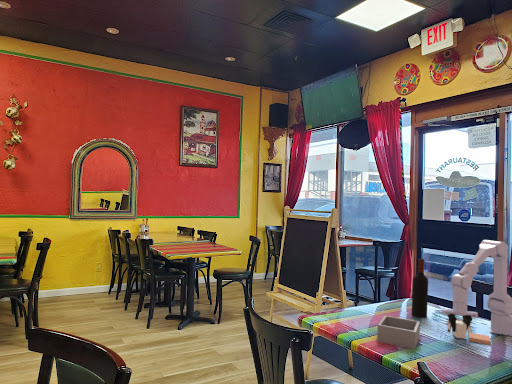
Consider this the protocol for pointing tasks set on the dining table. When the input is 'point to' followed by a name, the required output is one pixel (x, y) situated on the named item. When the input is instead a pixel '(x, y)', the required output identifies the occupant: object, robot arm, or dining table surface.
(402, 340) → the box
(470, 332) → the frame
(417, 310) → the wine bottle
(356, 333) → the dining table surface
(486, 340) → the tile
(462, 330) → the block
